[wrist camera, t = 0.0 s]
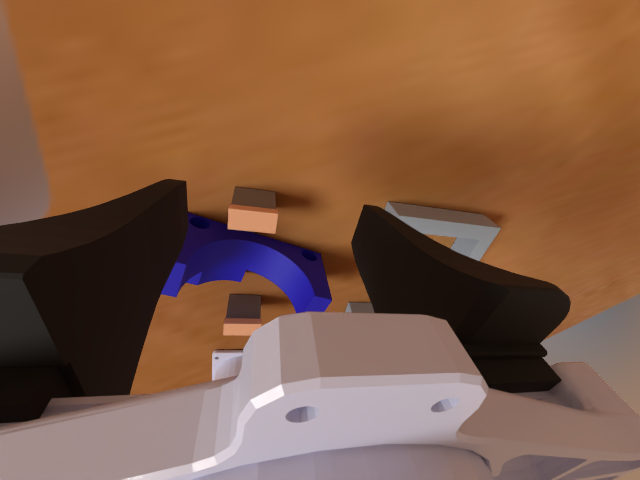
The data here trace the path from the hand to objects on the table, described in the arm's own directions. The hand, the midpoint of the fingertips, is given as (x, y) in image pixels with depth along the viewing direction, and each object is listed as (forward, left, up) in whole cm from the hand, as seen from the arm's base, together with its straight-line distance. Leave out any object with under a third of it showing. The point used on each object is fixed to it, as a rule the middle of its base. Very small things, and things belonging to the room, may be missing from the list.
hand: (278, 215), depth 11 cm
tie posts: (-10, +1, -10) cm, 14 cm away
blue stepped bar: (-10, +1, -10) cm, 14 cm away
